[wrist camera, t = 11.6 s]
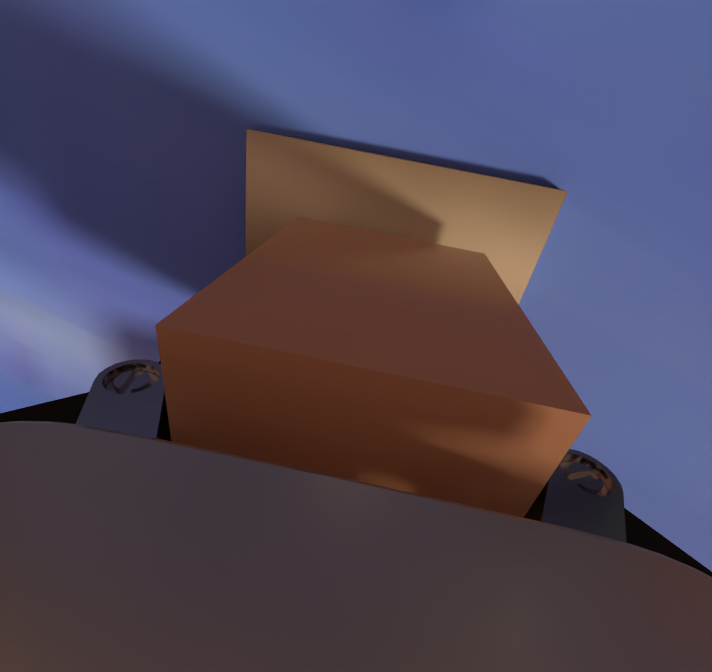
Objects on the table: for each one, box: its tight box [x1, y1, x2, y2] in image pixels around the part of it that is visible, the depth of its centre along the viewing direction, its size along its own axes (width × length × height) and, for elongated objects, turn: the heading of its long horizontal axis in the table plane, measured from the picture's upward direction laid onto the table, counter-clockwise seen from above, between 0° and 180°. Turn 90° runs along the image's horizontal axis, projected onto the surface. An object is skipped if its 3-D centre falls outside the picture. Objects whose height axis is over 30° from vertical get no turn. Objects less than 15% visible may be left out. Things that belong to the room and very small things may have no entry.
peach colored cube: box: [156, 217, 591, 518], centre depth 10 cm, size 6×6×8 cm
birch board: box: [245, 130, 567, 305], centre depth 15 cm, size 11×11×1 cm
